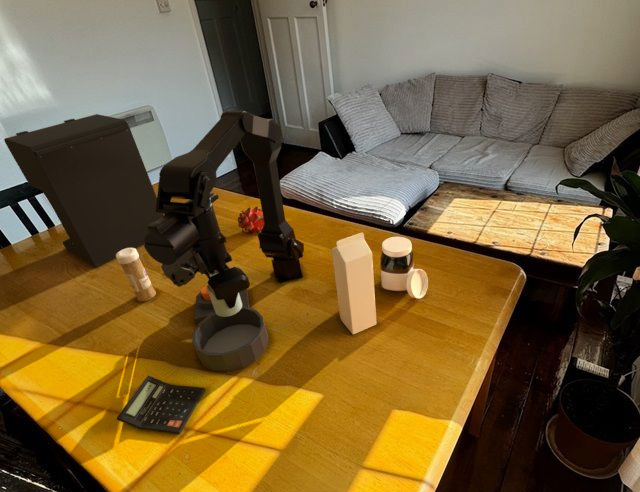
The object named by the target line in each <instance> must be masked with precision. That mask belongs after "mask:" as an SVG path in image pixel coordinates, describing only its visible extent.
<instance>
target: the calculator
mask: <svg viewBox="0 0 640 492" xmlns="http://www.w3.org/2000/svg"><path fill="white" fill-rule="evenodd" d="M205 392H206V388H205V387H198V386H189V385H181V384H180V385H178V384H170V383H168V382H165V381H163V380H161V379H159V378H156V377H154V376H151V375H149V374H148V375H146V377H145V378H144V380H143V381H142V382H141V384H140V385H139V386H138V388H137V389H136V390H135V391H134V393H133V395H132V396H131V397H130V398H129V400H128V401H127V403H126V404H125V405H124V407H122V409H121V411H120V412H119V414H117V416H116V419H115V420H116V421H119V422H121V423H124V424H126V425H129V426H131V427H134V428H136V429H139V430H145V431H152V432H161V433H167V434H176V435H181V434H182V431H183V430H184V428H185V427H186V425H187V423H188V422H189V420H190V418H191V416H192V414H193V413H194V411H195V409H196V407H197V406H198V404H199V403H200V400H201V399H202V397H203V396H204V394H205Z"/></svg>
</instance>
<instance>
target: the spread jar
mask: <svg viewBox="0 0 640 492" xmlns="http://www.w3.org/2000/svg"><path fill="white" fill-rule="evenodd" d="M412 245H413V244H412V242H411V240H410V239H408V238H407V237H403V236H392V237H388V238H386V239H384V240H383V241H382V242H381V254H380V258H379V259H380V265H379V266H380V268H379V269H380V285H381V288H382V289H383V290H385V291H387V292H389V293H394V294H400V293H406V292H407V294H408V296H410V298H412V299H422V298H424V296H425V295H426V294H427V291H428V287H429V278H428V275H427V273H426V271H425V270H424V269H422V268H414V262H415V261H414V259H415V258H414V251H413V248H412V247H413V246H412Z"/></svg>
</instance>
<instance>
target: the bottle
mask: <svg viewBox="0 0 640 492" xmlns="http://www.w3.org/2000/svg"><path fill="white" fill-rule="evenodd" d="M215 274H217V273H216V272H215ZM215 274H214V275H215ZM209 276H210V277H211V276H213V275H209ZM206 286H207V291H208V293H209V296H210V299H211V302H212V304H213V307H214V310H215V312H216V314H217V315H218V316H221V317H228V316H232V315H234V314H236V313H238V312H239V311H240V310H241V308H242V302H241V298H240V295H239V292H238V296H237V299H236V303H235V306H234V307H233V308H229V307H228V306H227V304H226V303H225V301H224V300H223V299H222V300H217V299H216V298H215V296H214V295H213V294H212V292H211V291H210V290H209V288H208V287H209V286H208V284H207V285H206Z"/></svg>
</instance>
